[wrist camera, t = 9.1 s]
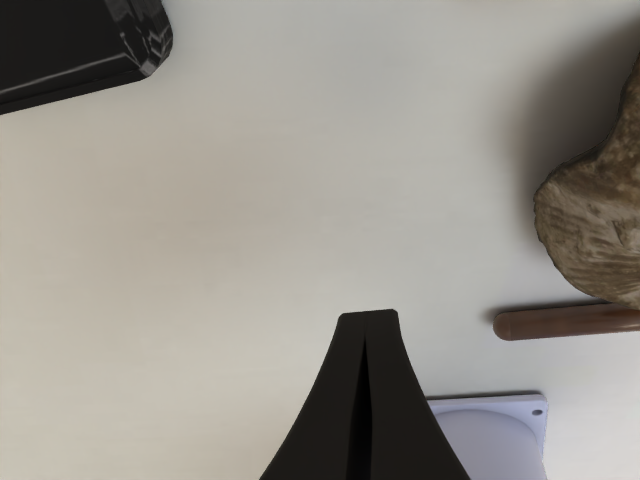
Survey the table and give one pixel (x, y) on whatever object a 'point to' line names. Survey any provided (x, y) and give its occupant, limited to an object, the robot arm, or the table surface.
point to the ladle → (566, 322)
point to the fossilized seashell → (598, 210)
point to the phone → (77, 47)
